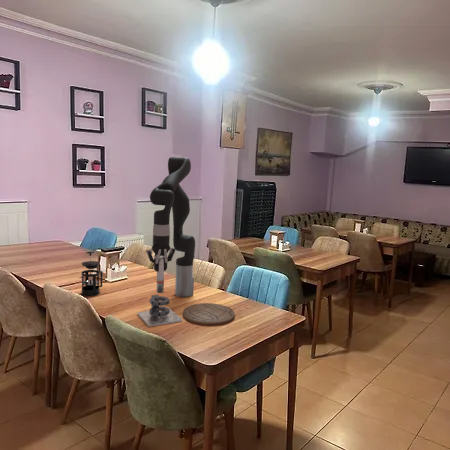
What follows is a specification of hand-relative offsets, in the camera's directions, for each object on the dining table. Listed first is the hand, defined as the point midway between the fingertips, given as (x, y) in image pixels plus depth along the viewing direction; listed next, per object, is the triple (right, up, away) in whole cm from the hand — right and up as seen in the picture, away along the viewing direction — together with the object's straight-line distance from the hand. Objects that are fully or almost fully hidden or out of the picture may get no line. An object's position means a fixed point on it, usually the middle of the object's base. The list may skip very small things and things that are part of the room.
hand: (160, 270), depth 187 cm
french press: (-42, -16, +32) cm, 55 cm away
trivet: (+22, -23, +10) cm, 33 cm away
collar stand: (-1, -22, +4) cm, 23 cm away
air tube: (0, -10, +2) cm, 10 cm away
